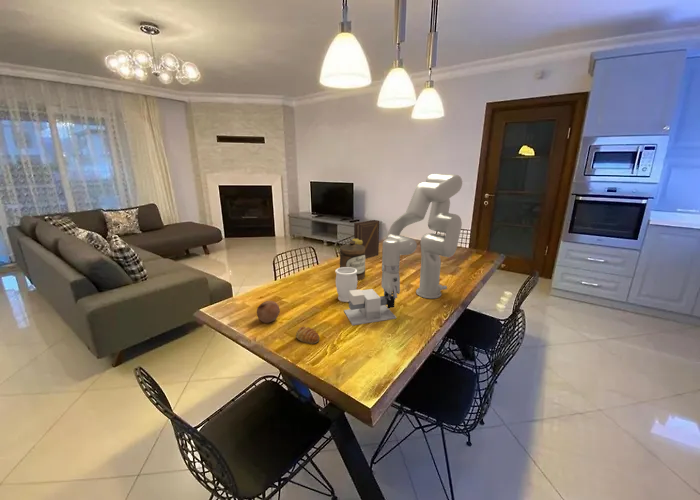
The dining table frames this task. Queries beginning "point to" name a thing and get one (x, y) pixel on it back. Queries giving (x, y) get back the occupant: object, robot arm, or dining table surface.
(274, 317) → the onion
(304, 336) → the pastry
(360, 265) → the wooden container
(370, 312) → the bearing block
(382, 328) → the dining table surface
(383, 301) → the shaft
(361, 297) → the block
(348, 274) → the jar
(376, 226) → the book
